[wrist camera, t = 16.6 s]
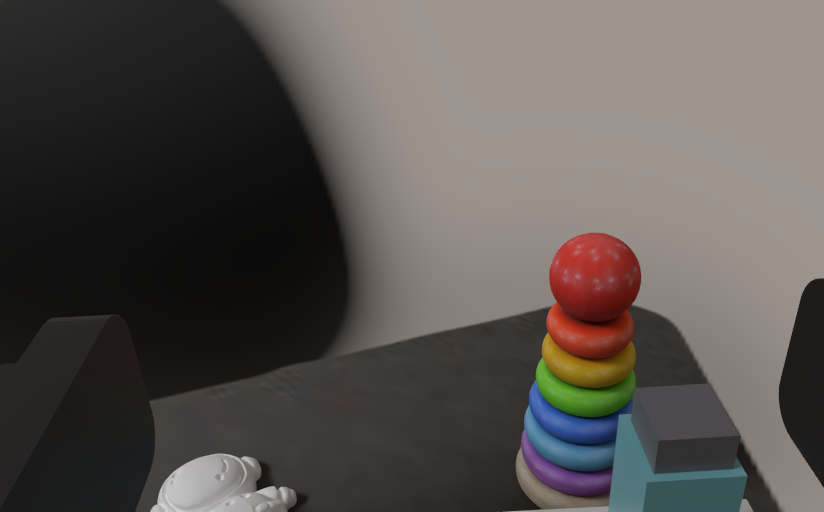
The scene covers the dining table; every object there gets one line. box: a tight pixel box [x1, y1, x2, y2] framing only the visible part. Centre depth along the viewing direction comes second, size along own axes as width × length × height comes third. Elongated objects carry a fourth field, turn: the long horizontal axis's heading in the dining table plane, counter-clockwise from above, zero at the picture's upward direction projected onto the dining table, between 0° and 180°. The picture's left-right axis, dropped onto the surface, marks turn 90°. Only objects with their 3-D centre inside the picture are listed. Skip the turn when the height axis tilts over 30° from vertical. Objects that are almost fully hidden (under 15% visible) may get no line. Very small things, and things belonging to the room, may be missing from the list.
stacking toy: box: [516, 233, 641, 510], centre depth 47 cm, size 8×8×19 cm
